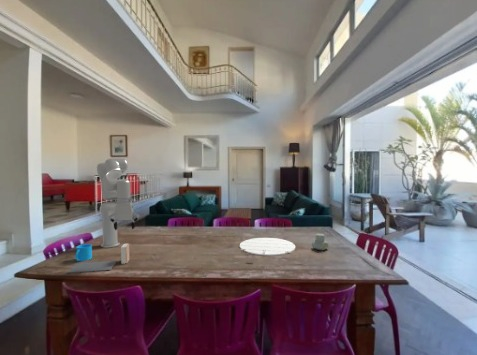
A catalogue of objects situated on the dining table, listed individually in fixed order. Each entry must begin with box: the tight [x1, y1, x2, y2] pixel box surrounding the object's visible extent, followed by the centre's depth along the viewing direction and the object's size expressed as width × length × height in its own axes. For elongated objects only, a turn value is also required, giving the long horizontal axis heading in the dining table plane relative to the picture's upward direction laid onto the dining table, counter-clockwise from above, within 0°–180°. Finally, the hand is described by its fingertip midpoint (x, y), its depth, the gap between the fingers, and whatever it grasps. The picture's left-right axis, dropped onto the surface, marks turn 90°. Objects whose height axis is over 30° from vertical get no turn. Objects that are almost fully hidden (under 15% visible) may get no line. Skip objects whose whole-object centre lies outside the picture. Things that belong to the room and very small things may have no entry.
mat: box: [66, 260, 118, 274], centre depth 155 cm, size 14×22×1 cm, turn 100°
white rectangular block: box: [120, 243, 130, 265], centre depth 164 cm, size 7×3×10 cm, turn 10°
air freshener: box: [311, 233, 329, 251], centre depth 185 cm, size 11×8×10 cm
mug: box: [74, 243, 93, 262], centre depth 167 cm, size 12×8×8 cm
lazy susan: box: [239, 237, 296, 257], centre depth 192 cm, size 40×39×3 cm
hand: (124, 229), depth 163 cm, fingers open, 9 cm apart
